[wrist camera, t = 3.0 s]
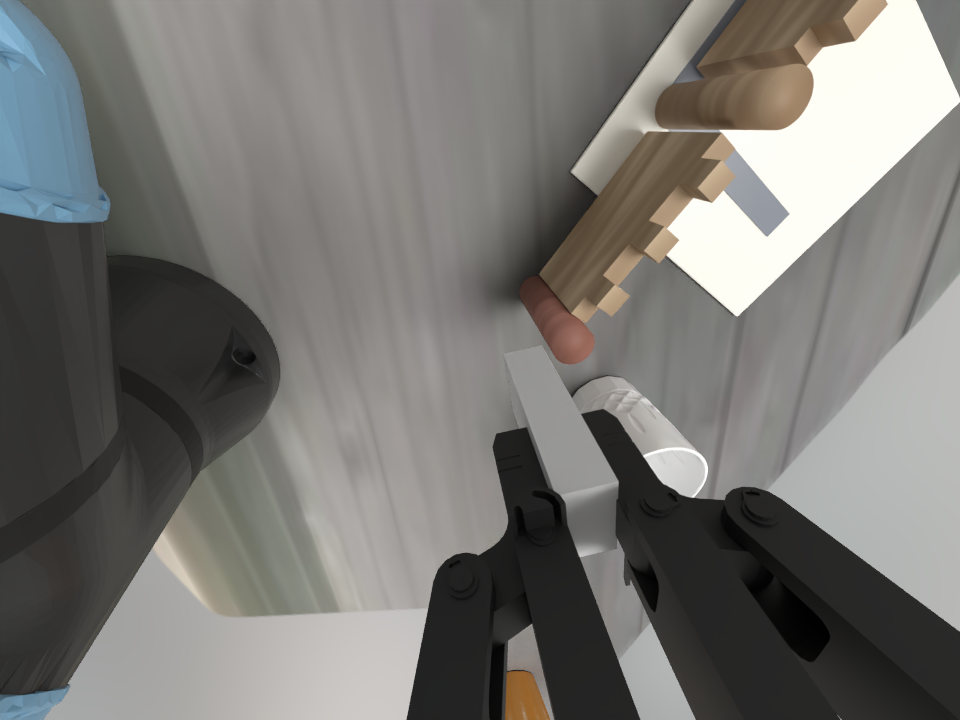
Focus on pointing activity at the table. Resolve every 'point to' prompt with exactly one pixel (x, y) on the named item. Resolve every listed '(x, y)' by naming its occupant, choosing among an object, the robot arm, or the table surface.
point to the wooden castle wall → (763, 65)
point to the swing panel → (623, 234)
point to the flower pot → (523, 698)
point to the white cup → (647, 432)
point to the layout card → (785, 144)
